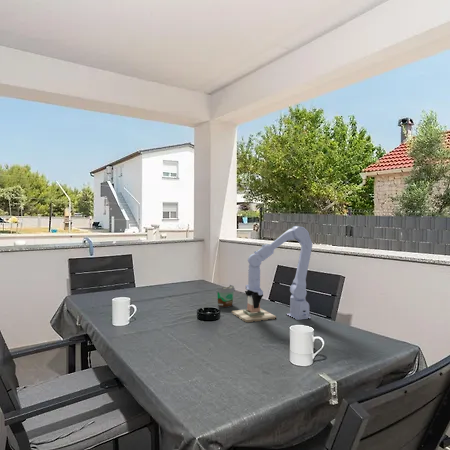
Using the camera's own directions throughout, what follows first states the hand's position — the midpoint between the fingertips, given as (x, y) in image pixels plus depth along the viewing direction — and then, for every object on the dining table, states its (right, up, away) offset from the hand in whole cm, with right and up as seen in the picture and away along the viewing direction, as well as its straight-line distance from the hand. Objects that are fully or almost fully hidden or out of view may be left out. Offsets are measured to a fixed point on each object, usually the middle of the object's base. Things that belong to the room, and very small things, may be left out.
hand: (253, 306), depth 175 cm
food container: (-12, -4, +19) cm, 23 cm away
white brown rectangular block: (0, -2, 0) cm, 2 cm away
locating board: (0, -5, 0) cm, 5 cm away
